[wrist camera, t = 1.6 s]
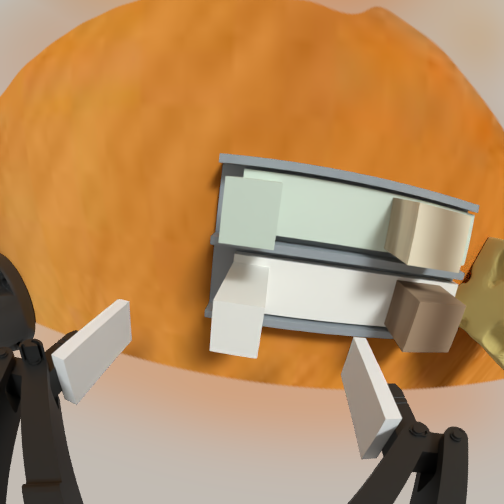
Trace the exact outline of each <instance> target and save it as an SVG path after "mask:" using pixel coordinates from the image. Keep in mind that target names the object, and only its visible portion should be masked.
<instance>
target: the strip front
mask: <svg viewBox="0 0 504 504" xmlns="http://www.w3.org/2000/svg"><path fill="white" fill-rule="evenodd" d="M393 197H394V198H399V199H405V200H410V201H415V202H420V203H424V204H428V205H431V206H435V207H439V208H443V209H447V210H450V211H454V212H457V213H461V214H464V215H468V216H471V221H470V227H469V232H468V237H467V242H466V246H465V251H464V255H463V259H462V263H461V265H464V263H465V259H466V255H467V251H468V246H469V242H470V237H471V232H472V227H473V222H474V216H475V215H472V214H469V213H466V212H462V211H459V210H455V209H452V208H448V207H444V206H441V205H437V204H433V203H429V202H426V201H422V200H418V199H414V198H409V197H405V196H401V195H397V194H392V193H388V192H383V191H379V190H374V189H369V188H364V187H359V186H354V185H349V184H344V183H338V182H333V181H327V180H321V179H315V178H309V177H303V176H296V175H289V174H282V173H275V172H268V171H260V170H251V169H244V176H243V177H233V176H226V178H225V186H224V195H223V204H222V213H221V223H220V232H219V242H218V243H224V244H232V245H239V246H246V247H253V248H260V249H267V250H274V245H275V238H276V236H283V237H290V238H297V239H303V240H310V241H317V242H324V243H330V244H337V245H343V246H350V247H356V248H363V249H369V250H375V251H382V252H388V251H387V250H386V249H384V246H385V241H386V236H387V231H388V226H389V220H390V215H391V209H392V203H393ZM388 253H390V252H388Z"/></svg>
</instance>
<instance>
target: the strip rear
mask: <svg viewBox="0 0 504 504" xmlns="http://www.w3.org/2000/svg"><path fill="white" fill-rule="evenodd" d="M397 280H402V281H410V282H417V283H425V284H433V285H440V286H441V287H442V288H444V289H445V290H446V291H448V292H449V293H450V294H452V295H453V296H454V297H455V295H456V291H457V288H458V284H457V283H455V282H453V281H446V280H439V279H432V278H425V277H417V276H410V275H403V274H396V273H389V272H382V271H375V270H367V269H360V268H353V267H346V266H339V265H332V264H325V263H318V262H310V261H303V260H296V259H289V258H282V257H275V256H268V255H261V254H254V253H247V252H240V251H236V252H235V254H234V262H233V264H232V266H231V268H230V269H229V271H228V273H227V275H226V277H225V279H224V281H223V283H222V284H221V286H220V288H219V290H218V292H217V294H216V296H215V298H214V300H213V310H212V324H211V338H210V351H213V352H219V353H224V354H230V355H236V356H243V357H249V358H256V359H257V355H258V348H259V342H260V336H261V330H262V324H263V318H264V314H270V315H278V316H285V317H293V318H301V319H310V320H318V321H328V322H337V323H347V324H358V325H370V326H382V327H386V326H385V325H384V322H385V319H386V316H387V313H388V309H389V306H390V303H391V299H392V296H393V292H394V289H395V285H396V281H397Z"/></svg>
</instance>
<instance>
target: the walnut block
mask: <svg viewBox="0 0 504 504" xmlns="http://www.w3.org/2000/svg"><path fill="white" fill-rule="evenodd" d="M465 308H466V305H464V304H463V303H462V302H461V301H459V300H458V299H457V298H455V297H454V296H453V295H452V294H450V293H449V292H448V291H446V290H445V289H444V288H442V287H441V286H440V285H433V284H425V283H417V282H410V281H402V280H397V281H396V285H395V289H394V292H393V296H392V299H391V303H390V306H389V309H388V313H387V316H386V319H385V322H384V325H385V326H386V328H387V329H388V331H389V332H390V334H391V335H392V337H393V338H394V340H395V341H396V343H397V344H398V346H399V348H400V349H401V351H402V352H448V351H449V349H450V347H451V344H452V342H453V340H454V337H455V335H456V332H457V330H458V327H459V325H460V322H461V319H462V316H463V314H464V311H465Z"/></svg>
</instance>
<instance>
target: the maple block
mask: <svg viewBox="0 0 504 504" xmlns="http://www.w3.org/2000/svg"><path fill="white" fill-rule="evenodd" d="M470 221H471V216H468V215H464V214H461V213H457V212H454V211H450V210H447V209H443V208H439V207H435V206H431V205H428V204H424V203H420V202H415V201H410V200H405V199H399V198H394V197H393V203H392V209H391V215H390V220H389V226H388V231H387V236H386V241H385V246H384V249H386V250H387V251H388V252H390V253H391V254H393V255H394V256H396V257H397V258H398V259H400V260H401V261H403V262H404V263H405V264H407V265H411V266H417V267H423V268H430V269H436V270H443V271H449V272H455V273H459V270H460V267H461V263H462V259H463V255H464V251H465V246H466V242H467V237H468V232H469V227H470Z"/></svg>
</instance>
